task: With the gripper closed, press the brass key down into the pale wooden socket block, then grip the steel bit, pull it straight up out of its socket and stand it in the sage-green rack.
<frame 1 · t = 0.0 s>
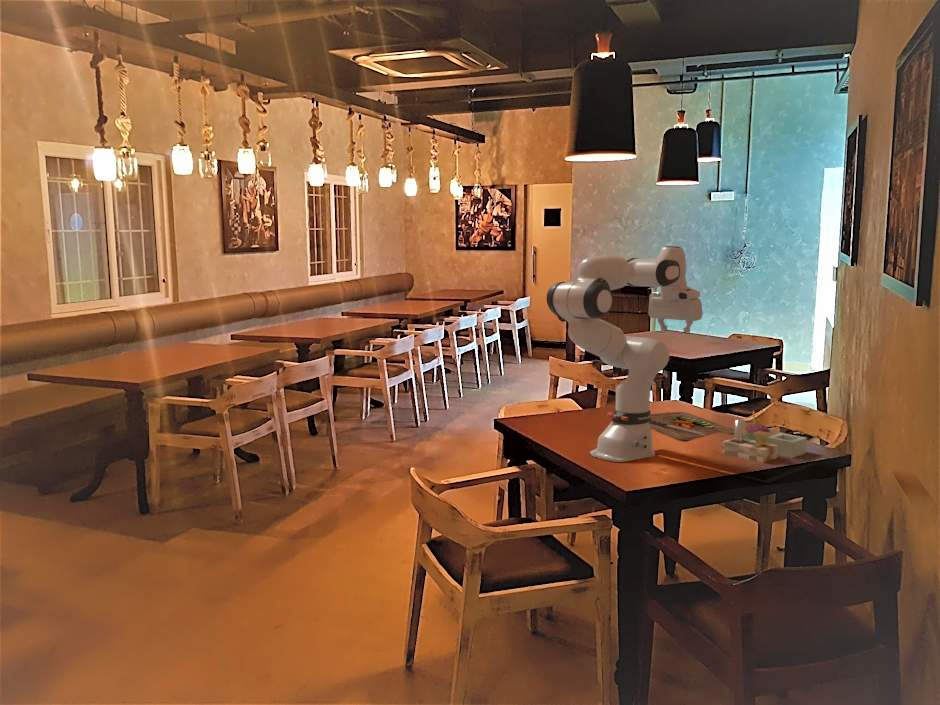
hand: (675, 331, 260), 39 cm above the table, tool pointing down, fingers open, 8 cm apart
bit rack: (785, 455, 243), on the table
socket block: (749, 458, 240), on the table
cupcake: (756, 444, 258), on the table
chopping board: (683, 428, 284), on the table
steel bit: (738, 453, 243), point 1 cm above the table, touching socket block
drift key: (760, 441, 237), point 6 cm above the table, slide at 0.0 cm
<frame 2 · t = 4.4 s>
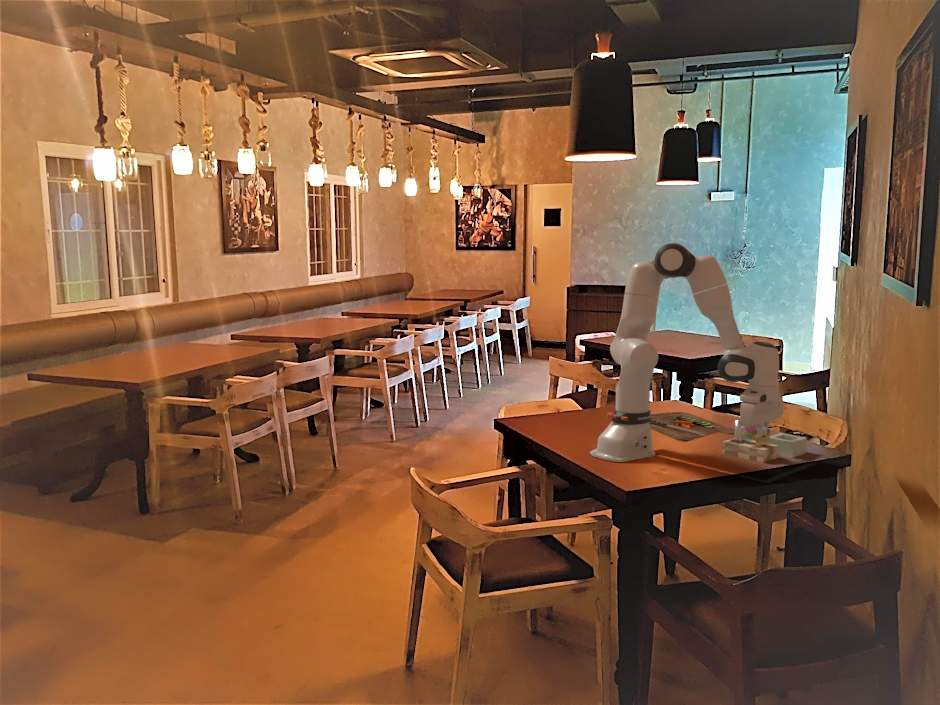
hand: (761, 435, 236), 8 cm above the table, tool pointing down, fingers closed
drift key: (760, 445, 237), point 5 cm above the table, slide at 1.1 cm, touching gripper
everything else where it was.
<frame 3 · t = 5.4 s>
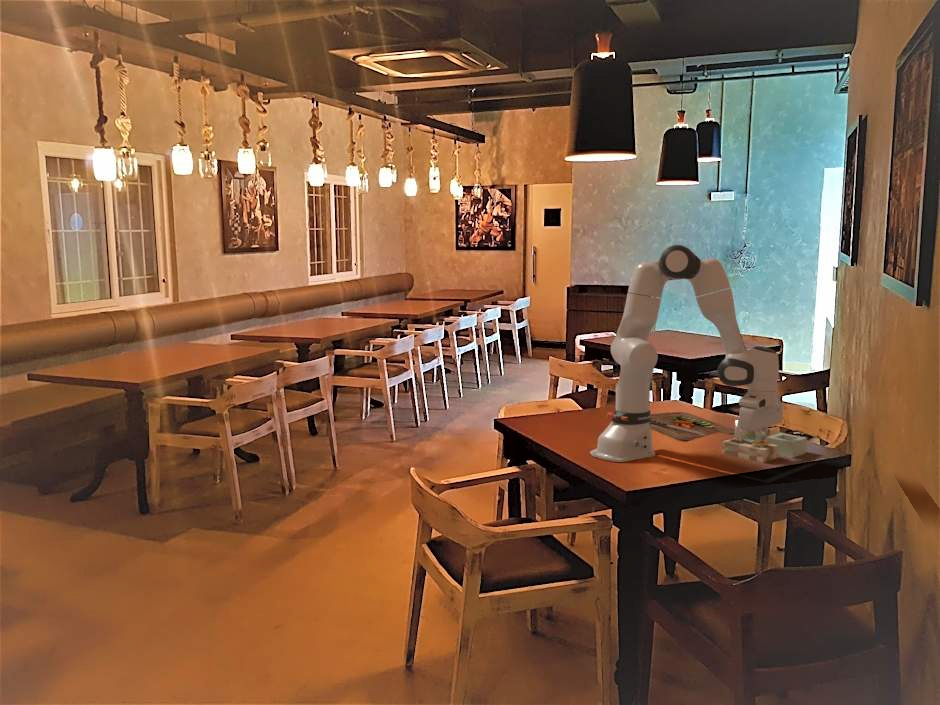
hand: (760, 440, 236), 7 cm above the table, tool pointing down, fingers closed
drift key: (760, 450, 237), point 3 cm above the table, slide at 2.8 cm
everything else where it was.
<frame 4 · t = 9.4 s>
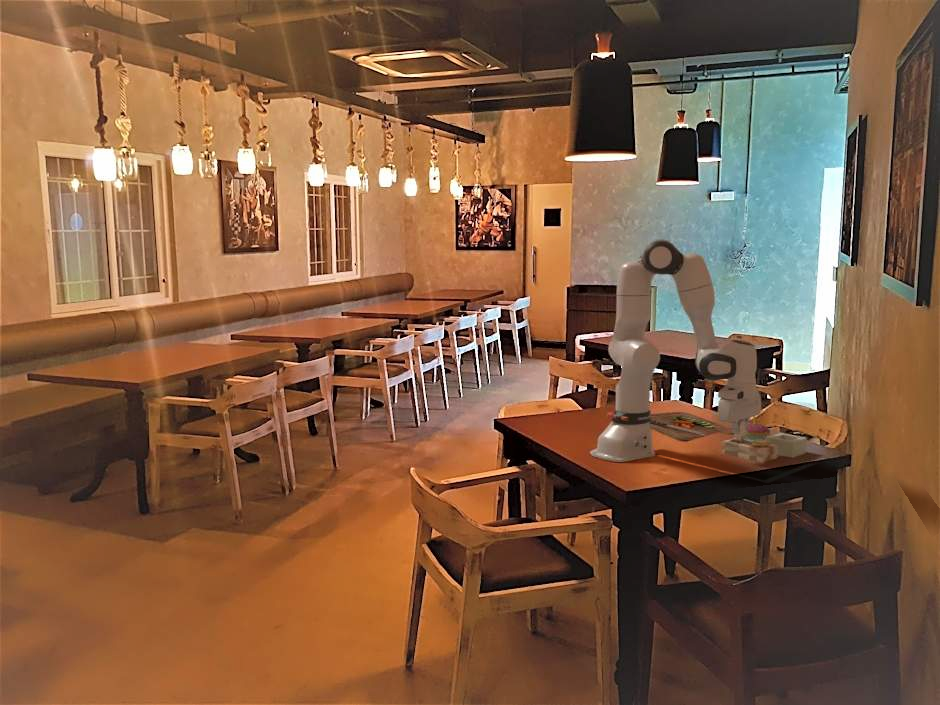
hand: (739, 431, 242), 8 cm above the table, tool pointing down, fingers closed on steel bit, 3 cm apart
steel bit: (738, 453, 243), point 1 cm above the table, touching gripper, socket block
everything else where it was.
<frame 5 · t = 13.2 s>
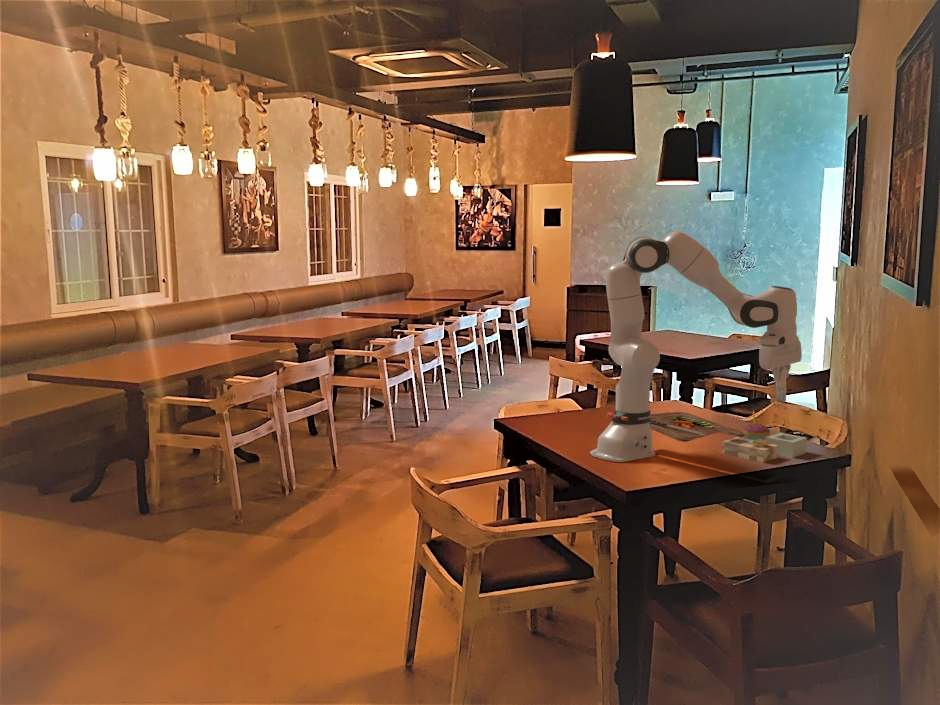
hand: (780, 379, 239), 25 cm above the table, tool pointing down, fingers closed on steel bit, 3 cm apart
steel bit: (780, 400, 240), point 18 cm above the table, touching gripper
everything else where it was.
when the fingers open (10 cm above the table, at t = 17.3 s): steel bit drops 1 cm, resting on bit rack.
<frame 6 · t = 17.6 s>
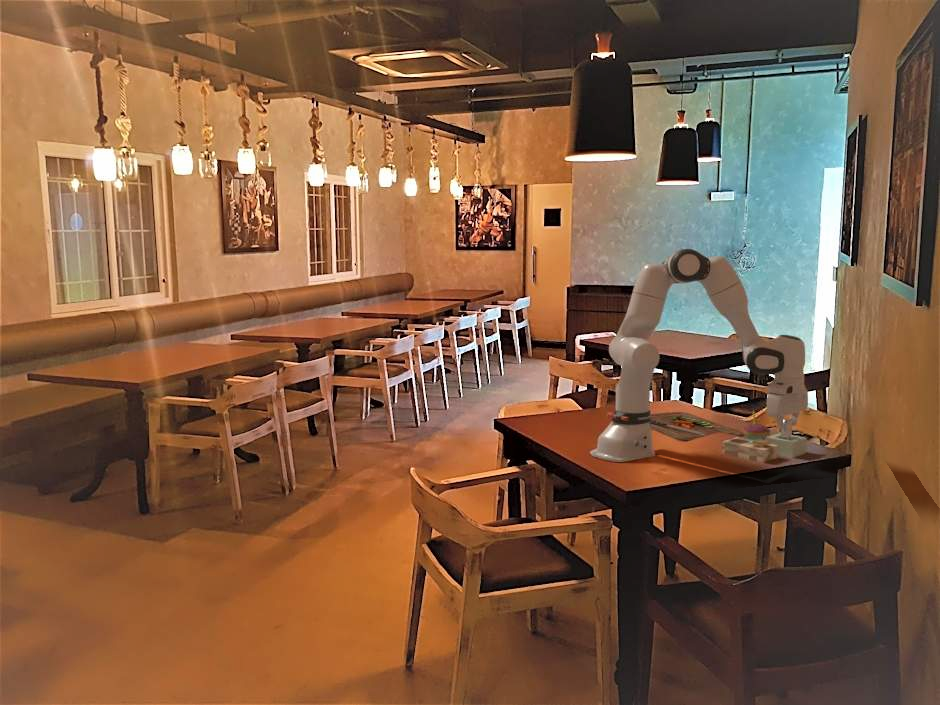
hand: (787, 426, 242), 10 cm above the table, tool pointing down, fingers open, 6 cm apart
steel bit: (785, 452, 243), point 1 cm above the table, touching bit rack
everything else where it was.
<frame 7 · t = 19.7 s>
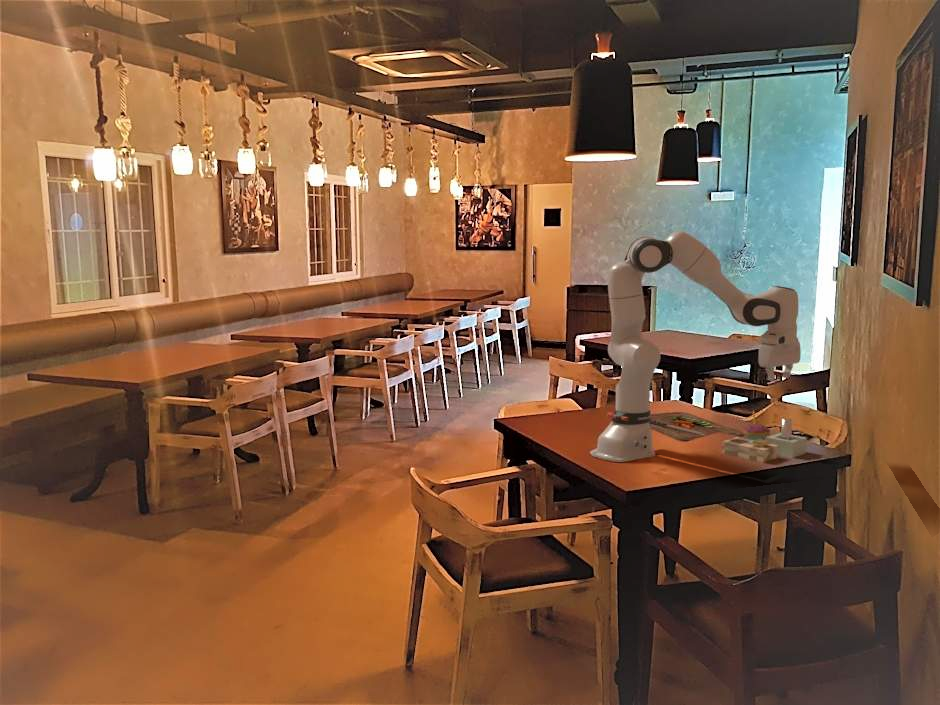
hand: (778, 378, 241), 25 cm above the table, tool pointing down, fingers open, 8 cm apart
nothing on the table moved.
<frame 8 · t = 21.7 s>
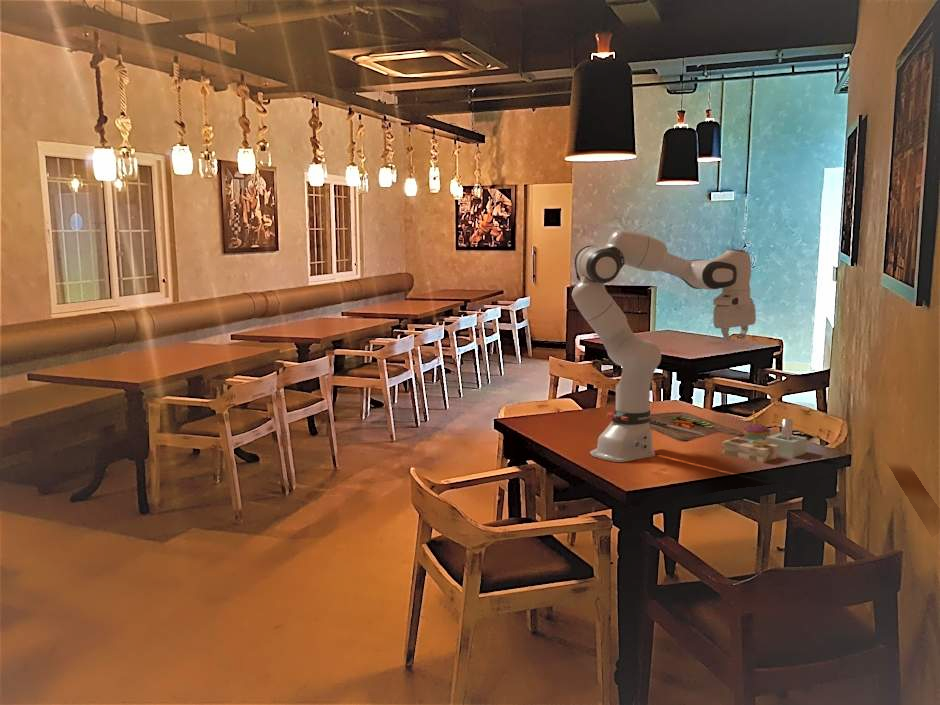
hand: (734, 340, 248), 37 cm above the table, tool pointing down, fingers open, 8 cm apart
nothing on the table moved.
at the end: drift key slide at 2.8 cm; steel bit 0.1 cm off-centre on the bit rack, point 1.1 cm above the bit rack's base; steel bit tilted 2° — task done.
